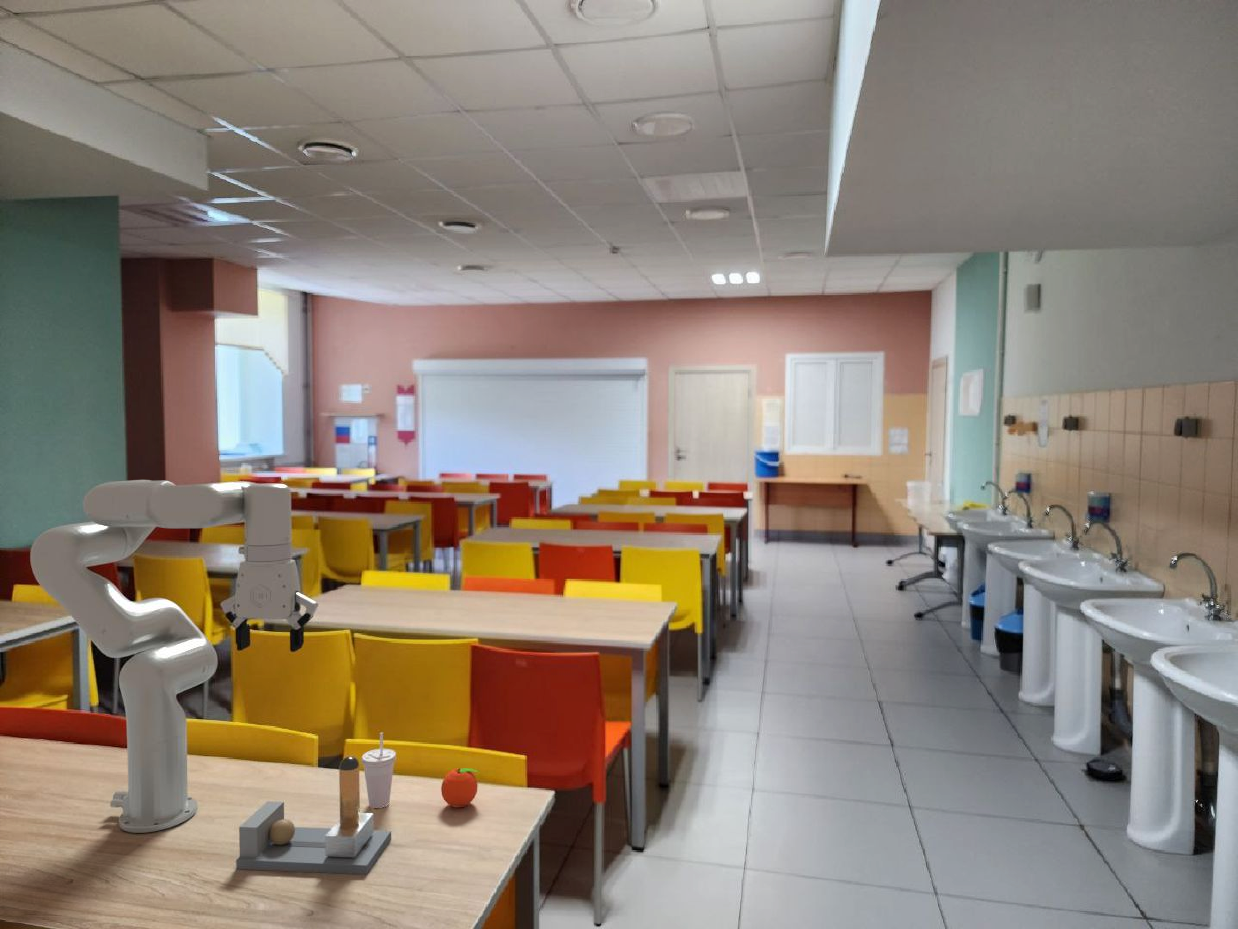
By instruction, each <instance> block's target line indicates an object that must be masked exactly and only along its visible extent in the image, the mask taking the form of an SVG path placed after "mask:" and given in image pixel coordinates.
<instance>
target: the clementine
mask: <svg viewBox="0 0 1238 929" xmlns="http://www.w3.org/2000/svg"><path fill="white" fill-rule="evenodd" d="M473 772H475V773H477V774H479V775H480V776H481V779H483V777H482V775H481V773H480V772H479V771H478V770H476V769H474V768H468V767H467V768H466V767H465V768H463V767H460V768H455V769H453V770H451V771H449V772H447V774H446V775H445V777H444V778H443V780H442V782H441V788H440V791H441V796H442V799H443V800H444V801H445V802H446V804H447V805H449V806H451V807H453V808H463V807H465V806H467V805H469V804H471V802H472V801H473V800H474V799H475V798H476V795H477V793H478V788H479V787H478V786H479V785H478V781H477V777H476V776H475V774H474V773H473Z"/></svg>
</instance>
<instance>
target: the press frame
mask: <svg viewBox="0 0 1238 929" xmlns="http://www.w3.org/2000/svg"><path fill="white" fill-rule="evenodd" d="M331 829H332V827H331V828H329V827H328V828H325V827H304V826H303V827H302V826H300V827H299V826H295V825H294V823H293V821H291V820H289V819H287V818H285V802H284V801H273V800H271V801H270V800H268V801H266V802H265V803H264V804H263V805H262V806H260V807H259V808H258V809H257V810H256V811H255V812H254V813H253V814H252V815H251V816H250V817H249V818H248V819H246V820H245V821H244V822H243V823H242V824H240V826H239V827H238V833H239V834H238V835H239V836H238V837H239V838H238V840H239V844H238V845H239V857H238V858H237V859H236V860H235V862H236V864H235V865H236V866H235V868H236V869H237V870H256V871H257V870H258V871H259V870H260V871H279V872H280V871H282V872H303V873H325V874H346V875H348V874H349V875H350V874H351V875H368V874H369V872H370V871H371V869H373V867H374V865H375V863H376V862H377V860H378V859H379V857H380V856H381V855H382V853H383V852H384V850H386V849H385V848H386V847H388V844H390V842H391V840H392V831H391V830H380V829H379V830H377V829H373V834H372V835H371V836H370V838H369V839H368V840H367V842H366V843H365V844H364V846H363V847H362V848H361V850H360V851H359V852H358V854H357V855H356V856H355V857H334V856H325V835H326V834H327V833H328V832H329V831H330V830H331Z"/></svg>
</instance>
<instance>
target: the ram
mask: <svg viewBox="0 0 1238 929" xmlns="http://www.w3.org/2000/svg"><path fill="white" fill-rule="evenodd" d="M340 761H341V762H339V766H338V768H339V770H338V773H339V778H338V779H339V780H338V781H339V782H338V783H339V784H338V785H339V786H338V787H339V819H338V820H337V822H335V824H334V825H333V826H332V827H331V830H330V831H329V832H328V833H327V834H326V835H325V856H334V857H355V856H356V855H357V854H358V852H359V851H360V850H361V848H362V847H363V846H364V844H365V843H366V842H367V840H368V839H369V838H370V836H371V835H372V834H373V830H374V813H371V812H369V813H368V812H361V810H360V808H361V807H360V806H361V804H360V802H361V801H360V793H361V792H360V762H359V759H357V757H355V756H349V755H348V756H346V757H344V758H343V759H342V760H340Z"/></svg>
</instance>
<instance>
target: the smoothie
mask: <svg viewBox="0 0 1238 929" xmlns="http://www.w3.org/2000/svg"><path fill="white" fill-rule="evenodd" d="M396 755H397V753H396V751H395V750H393V749H390V748H384V732H380V733H379V748H377V749H372V750H369V751H366V752H365V753H363V754H362V756H361V764H362V765H363V770H364V771H363V772H364V777H365V786H366V791H367V792H366V793H367V798H368V799H367V801H368V807H369V808H371V809H373V808H380V809H382V808H381V807H383V806H386V805H387V804H388V803H389V804H390V799H391V791H392V790H391V789H392V783H393V774H394V768H395V767H394V764H395V761H396V759H397V756H396ZM386 807H387V806H386Z"/></svg>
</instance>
